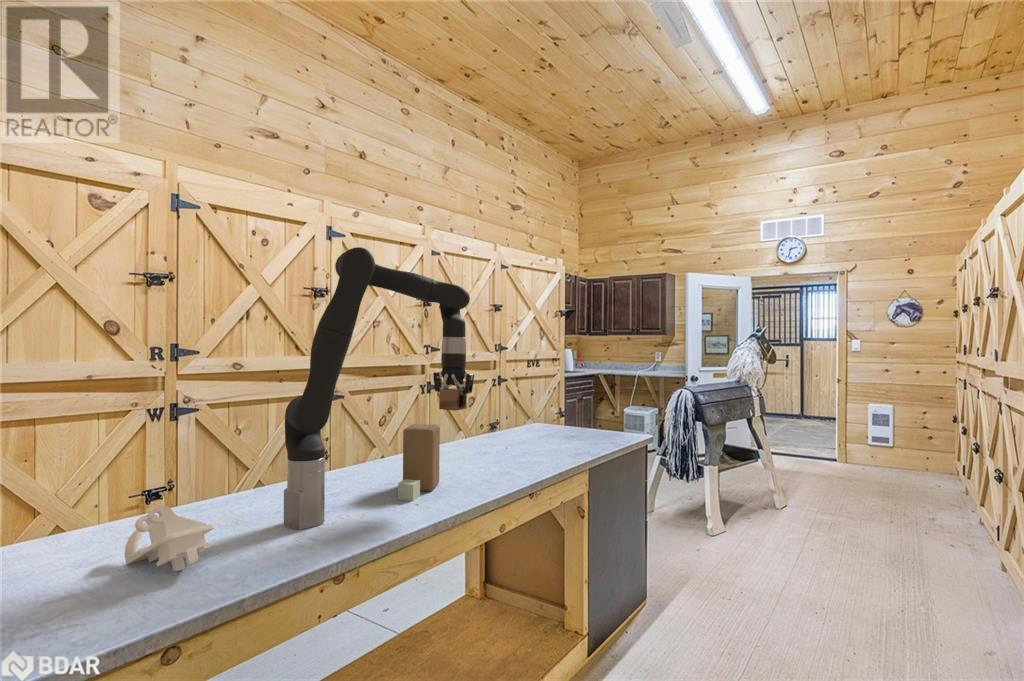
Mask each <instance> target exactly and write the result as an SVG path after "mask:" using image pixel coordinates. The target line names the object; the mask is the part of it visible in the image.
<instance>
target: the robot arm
mask: <svg viewBox="0 0 1024 681" xmlns="http://www.w3.org/2000/svg"><path fill="white" fill-rule="evenodd" d="M375 261H376V260H375V258H374V255H373V253H371V251H370V250H368V249H367V248H366V247H362V246H361V247H353V248H349V249H348V250H346V251H343V253H341V254H340V255H339V256H338V257H337V259H336V261H335V264H334V267H335V268H334V269H335V273H336V274H337V276H338V281H337V285H336V288H335V291H334V294H333V295H332V298H331V299H330V301H329V302H328V304H327V306H326V308H325V310H324V312H323V313H322V315H321V317H320V320H319V321H318V324H317V327H316V329H315V333H314V337H313V339H312V343H311V348H310V359H309V373H308V378H307V383H306V386H305V387H304V390H303V391H302V392H303V393H302V395H300V396H296V397H295V398H293V399H291V401H290V402H289V403H288V404H287V405H286V409H285V413H284V441H285V442H284V443H285V444H284V445H285V448H286V453H287V454H286V455H287V459H286V460H287V461H286V462H287V465H286V466H287V468H286V471H287V473H286V474H287V475H286V477H287V480H286V481H287V482H286V484H287V485H286V486H287V487H286V488H284V489H283V526H285V527H287V528H293V529H296V530H299V531H300V530H303V529H307V528H308V529H309V528H313V527H317V526H320V525H322V524H323V523H324V522H325V496H326V494H325V492H326V491H325V488H326V487H325V485H326V484H325V482H326V481H325V480H326V479H325V478H326V476H325V475H326V472H325V471H326V447H325V445H324V443H323V439H322V435H321V434H322V433H321V432H322V429H323V428H324V427H325V426H326V425H327V423H328V422H329V417H330V414H331V409H332V405H333V398H334V395H335V391H336V390H335V389H336V385H337V383H338V379H339V376H340V373H341V371H342V368H343V365H344V363H345V362H344V361H345V359H346V356H347V353H348V350H349V348H350V345H351V341H352V338H353V334H354V331H355V327H356V323H357V321H358V317H359V312H360V307H361V304H362V300H363V297H364V295H365V293H366V290H367V289H368V286H371V287H376V288H380V289H383V290H388V291H392V292H395V293H398V294H401V295H404V296H407V297H411V298H413V299H417V300H419V301H423V302H426V303H437V304H439V310H440V316H441V320H442V340H441V357H440V358H441V359H440V360H441V364H440V365H441V371H435V372H434V371H433V374H432V375H433V384H434V385H433V386H434V391H435V392H438V393H439V390H440V389H448V388H451V385H452V386H455V388H457V389H458V390H459V394H460V395H459V407H460V408H463V407H465V405H466V395H468V394H472V392H473V388H474V380H475V374H474V373H468V372H467V371H466V366H467V342H466V340H467V339H466V321H465V320H464V319H463V318H462V316H461V314H462V313H461V310H463V309H465V308H466V307H467V306H468V305H469V304H470V300H471V297H470V293H469V292H468V290H467V289H465V288H464V287H462V286H460V285H458V284H454V283H449V282H443V281H438V280H436V279H432V278H430V277H427V276H425V275H421V274H419V273H414V272H411V271H405V270H398V269H393V268H389V267H387V266H386V267H385V266H383V265H379V264H376V262H375ZM442 379H443V380H442Z"/></svg>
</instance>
